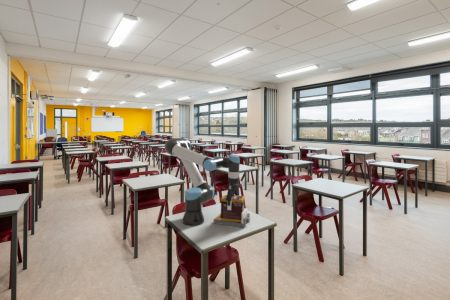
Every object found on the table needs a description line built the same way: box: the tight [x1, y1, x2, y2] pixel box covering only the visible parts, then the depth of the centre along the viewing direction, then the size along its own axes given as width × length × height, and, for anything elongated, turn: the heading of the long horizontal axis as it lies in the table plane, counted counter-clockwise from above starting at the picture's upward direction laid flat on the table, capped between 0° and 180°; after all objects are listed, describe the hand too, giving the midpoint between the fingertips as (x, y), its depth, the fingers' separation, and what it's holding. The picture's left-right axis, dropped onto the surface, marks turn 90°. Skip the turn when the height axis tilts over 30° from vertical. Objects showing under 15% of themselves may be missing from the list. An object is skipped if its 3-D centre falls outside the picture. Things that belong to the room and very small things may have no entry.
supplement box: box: [220, 194, 246, 222], centre depth 172 cm, size 10×15×16 cm
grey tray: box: [212, 212, 251, 229], centre depth 173 cm, size 23×13×6 cm, turn 68°
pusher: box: [241, 207, 251, 224], centre depth 169 cm, size 4×11×9 cm, turn 158°
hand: (232, 206), depth 172 cm, fingers open, 13 cm apart
